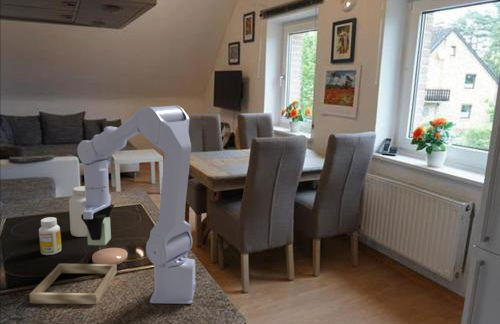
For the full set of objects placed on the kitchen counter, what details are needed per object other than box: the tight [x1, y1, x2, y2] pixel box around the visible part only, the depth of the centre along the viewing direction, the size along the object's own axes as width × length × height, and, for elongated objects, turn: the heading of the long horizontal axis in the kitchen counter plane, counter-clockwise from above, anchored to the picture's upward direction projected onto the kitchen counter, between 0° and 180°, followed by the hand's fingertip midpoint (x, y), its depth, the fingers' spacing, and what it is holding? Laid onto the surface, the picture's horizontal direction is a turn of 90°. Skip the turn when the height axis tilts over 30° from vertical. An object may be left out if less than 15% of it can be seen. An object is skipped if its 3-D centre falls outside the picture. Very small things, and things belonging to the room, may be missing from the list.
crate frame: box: [29, 263, 118, 305], centre depth 93 cm, size 15×15×2 cm
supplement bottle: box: [38, 216, 62, 256], centre depth 111 cm, size 5×5×10 cm
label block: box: [86, 216, 112, 246], centre depth 102 cm, size 4×4×6 cm
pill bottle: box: [68, 185, 87, 238], centre depth 124 cm, size 8×8×15 cm
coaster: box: [91, 247, 128, 265], centre depth 108 cm, size 9×9×1 cm
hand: (99, 235), depth 102 cm, fingers closed on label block, 4 cm apart
